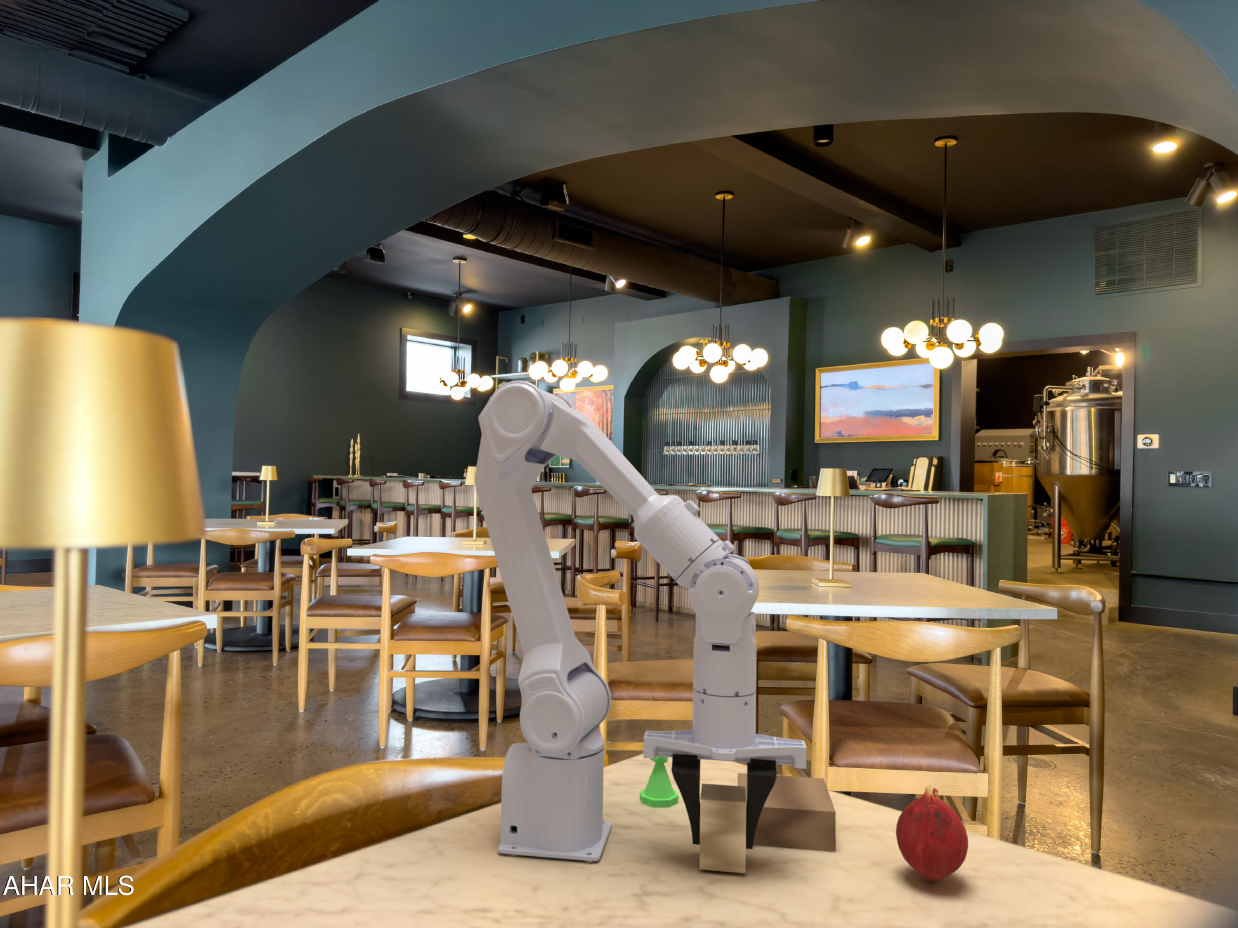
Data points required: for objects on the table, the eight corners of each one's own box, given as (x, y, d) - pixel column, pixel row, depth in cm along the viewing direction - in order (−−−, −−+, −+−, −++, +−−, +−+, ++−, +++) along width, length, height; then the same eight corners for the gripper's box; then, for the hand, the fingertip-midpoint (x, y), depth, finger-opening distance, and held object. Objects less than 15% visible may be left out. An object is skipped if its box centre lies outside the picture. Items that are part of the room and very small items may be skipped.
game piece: (634, 804, 82) (635, 748, 82) (645, 791, 86) (646, 737, 86) (673, 810, 81) (674, 752, 81) (682, 795, 85) (683, 741, 85)
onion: (976, 902, 63) (975, 803, 63) (902, 894, 64) (902, 796, 64) (959, 869, 68) (958, 778, 69) (891, 862, 69) (891, 773, 70)
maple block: (699, 869, 67) (700, 799, 67) (701, 848, 71) (701, 783, 71) (745, 872, 66) (746, 802, 67) (744, 852, 70) (745, 786, 71)
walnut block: (738, 847, 73) (739, 804, 73) (737, 810, 82) (737, 772, 82) (835, 855, 71) (835, 811, 72) (823, 816, 80) (823, 778, 81)
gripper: (640, 695, 66) (637, 855, 66) (810, 704, 64) (809, 869, 64) (648, 677, 73) (646, 821, 73) (802, 685, 71) (801, 833, 71)
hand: (722, 842), depth 69 cm, fingers closed on maple block, 4 cm apart
